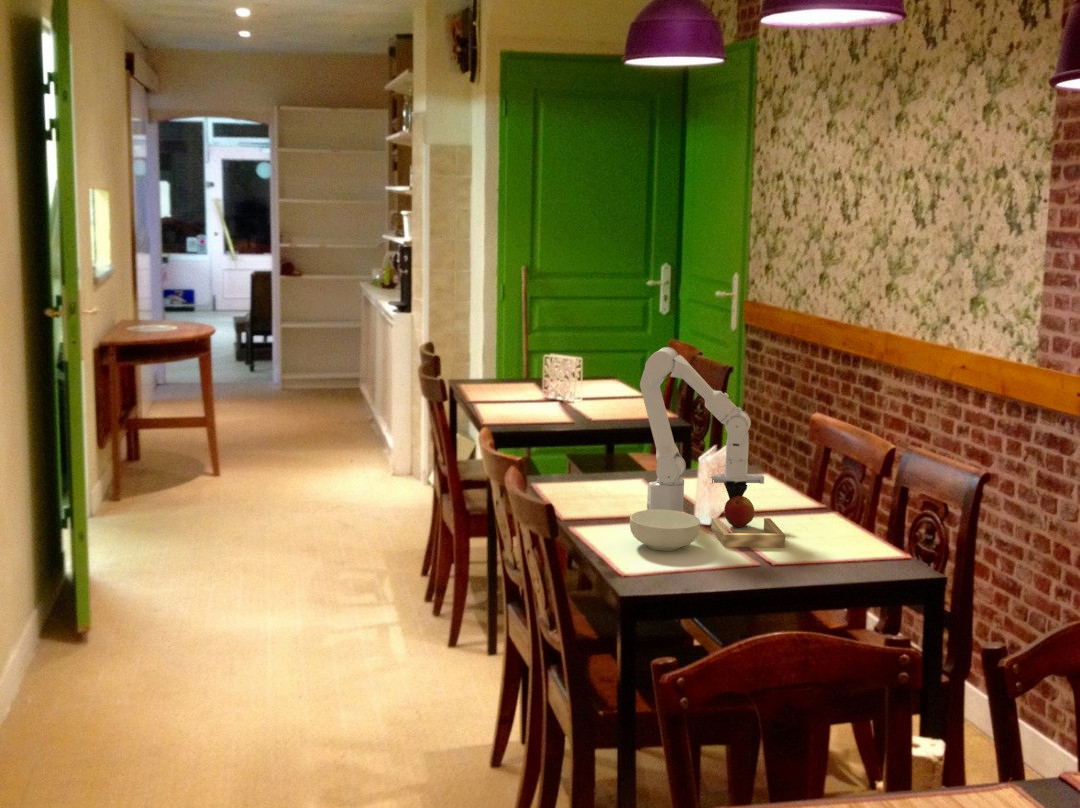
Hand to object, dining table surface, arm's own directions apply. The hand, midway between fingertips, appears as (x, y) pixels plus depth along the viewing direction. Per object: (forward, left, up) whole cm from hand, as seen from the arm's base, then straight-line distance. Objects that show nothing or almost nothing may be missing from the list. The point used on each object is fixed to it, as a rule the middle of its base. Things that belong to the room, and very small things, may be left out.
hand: (734, 510), depth 331 cm
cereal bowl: (-22, -23, -3) cm, 32 cm away
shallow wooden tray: (0, -15, -3) cm, 15 cm away
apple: (0, -5, -3) cm, 6 cm away
